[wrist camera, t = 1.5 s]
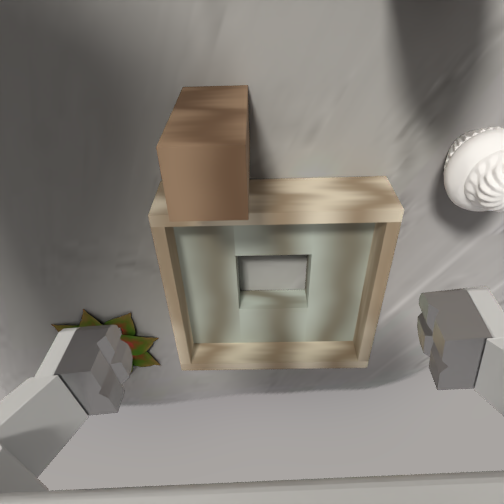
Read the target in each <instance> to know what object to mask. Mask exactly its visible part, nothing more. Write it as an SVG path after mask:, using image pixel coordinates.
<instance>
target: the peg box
mask: <svg viewBox="0 0 504 504" xmlns="http://www.w3.org/2000/svg"><path fill="white" fill-rule="evenodd" d="M403 213H404V209H403V207H402V205H401V203H400V201H399V199H398V198H397V196H396V194H395V192H394V190H393V188H392V186H391V185H390V183H389V181H388V179H387V177H386V176H375V177H332V178H289V179H249V220H227V221H181V222H170V221H169V215H168V210H167V204H166V199H165V193H164V188H163V182H162V181H161V182H160V184H159V187H158V190H157V193H156V195H155V198H154V201H153V203H152V206H151V209H150V212H149V214H148V218H149V222H150V227H151V231H152V236H153V241H154V245H155V250H156V254H157V259H158V264H159V268H160V273H161V277H162V282H163V286H164V291H165V296H166V300H167V305H168V309H169V314H170V318H171V323H172V328H173V332H174V337H175V341H176V346H177V351H178V355H179V360H180V364H181V369H182V370H246V369H316V368H367V365H368V361H369V357H370V353H371V348H372V344H373V340H374V336H375V331H376V327H377V323H378V319H379V314H380V310H381V306H382V302H383V298H384V293H385V289H386V285H387V281H388V276H389V272H390V268H391V264H392V259H393V255H394V251H395V247H396V243H397V238H398V234H399V230H400V226H401V221H402V217H403ZM306 254H307V268H306V282H305V290H255V291H240V287H239V271H238V256H254V255H306Z"/></svg>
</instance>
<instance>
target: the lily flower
mask: <svg viewBox="0 0 504 504" xmlns="http://www.w3.org/2000/svg"><path fill="white" fill-rule="evenodd" d="M130 317H131V313H129V314H127V315H124V316H121V317H117V318H115V319H112V320H109V321H107V322H105V323H104V324H103V325H117V326H118V328H120V327H121V331H122V335H121V337H120V340H122V341H124V342H125V343H127V344H128V346H129V348H130V349H131V353H132V370H133V365H134V366H139V367H146V366H152V365H160V364H159V363H158V362H157V361H156V360H154V358H153V357H152V356H151V355H150V354H149V353H148V352H147V350H148V349H149V348H150V347H151V346H152V344H153V342H154V341H156V340H157V339H158V338H149V337H148V338H145V337H136V336H135V327H134V324H133V321H132V319H131V318H130ZM51 325H52V326H54V327H55V328H56V330H57V331H58V332H60V331H61V330H62V329H65V328H78V327H87V326H100V325H102V324H101V323H99V322H98V321H97V320H96V319H95V318H93V317H92V316H90V315H89V314H88V313H87V312H86V311H85V310H84V309H83V315H82V321H80V325H79V326H71V325H59V326H58V325H53V324H51ZM132 370H131V372H132ZM130 374H131V373H130Z"/></svg>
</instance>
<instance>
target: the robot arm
mask: <svg viewBox="0 0 504 504" xmlns="http://www.w3.org/2000/svg"><path fill="white" fill-rule="evenodd" d="M419 306H420V308H421V311H422V313H421V314H420V315H419V316H418V323H417V327H418V336H419V340H420V344H421V347H422V350H423V353H425V354H426V355H427V356H429V357H430V361H429V369H430V371H431V374H432V377H433V380H434V382H435V385H436V387H437V390H448V389H470V388H475V389H474V390H475V391H476V392H477V393H478V394H479V395H480V396H481V397H483V398H484V399H485V400H486V401H487V402H488V403H489V404H490V405H492V406H493V407H494V408H495V409H496V410H497V411H498V412H499V413H501V414H502V415H503V416H504V311H503V310H502V308H501V307H500V305H499V303H498V302H497V300H496V299H495V297H494V296H493V294H492V292H491V291H490V289H489V288H488V287H486V286H479V287H470V288H463V289H453V290H444V291H435V292H426V293H421V295H420V299H419ZM121 334H122V333H121V331H120V329H119V328H118V326H117V325H100V326H87V327H78V328H65V329H62V330H61V331H60V332H59V333H58V334H57V336H56V338H55V340H54V342H53V344H52V345H51V347H50V349H49V351H48V353H47V355H46V357H45V358H44V360H43V362H42V364H41V366H40V368H39V369H38V371H37V373H36V375H35V377H31V378H28V379H27V380H26V381H24V382H23V383H22V384H21V385H20V386H18V387H17V388H16V389H15V390H13V391H12V392H11V393H10V394H8V395H7V396H6V397H5V398H4V399H2V400H1V401H0V504H504V471H482V472H460V473H440V474H418V475H417V474H415V475H392V476H370V477H347V478H324V479H301V480H280V481H279V480H278V481H257V482H234V483H212V484H190V485H167V486H145V487H124V488H101V489H78V490H55V491H49V490H48V488H47V487H46V486H45V485H44V484H43V483H42V482H41V481H40V480H39V479H37V478H38V476H39V475H40V474H41V473H42V472H43V470H44V469H45V468H46V467H47V466H48V465H49V463H50V462H51V461H52V460H53V459H54V457H55V456H56V455H57V454H58V453H59V452H60V450H61V449H62V448H63V447H64V446H65V445H66V443H67V442H68V441H69V440H70V439H71V438H72V436H73V435H74V434H75V433H76V432H77V431H78V429H79V428H80V427H81V426H82V425H83V423H84V422H85V421H86V420H87V419H88V417H89V416H88V415H98V414H108V413H117V412H118V410H119V407H120V404H121V401H122V398H123V395H124V392H125V390H124V388H123V386H122V384H123V383H124V382H125V381H126V380H127V379H128V378H129V376H130V373H131V370H132V353H131V349H130V348H129V346H128V344H127V343H125V342H124V341H122V340H120V337H121Z"/></svg>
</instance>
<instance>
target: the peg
mask: <svg viewBox="0 0 504 504" xmlns="http://www.w3.org/2000/svg"><path fill="white" fill-rule="evenodd" d="M156 149H157V155H158V160H159V166H160V171H161V177H162V182H163V188H164V193H165V199H166V204H167V210H168V215H169V221H170V222H181V221H227V220H249V164H250V138H249V108H248V85H240V86H204V87H183V88H182V90H181V93H180V95H179V97H178V99H177V102H176V104H175V106H174V108H173V111H172V113H171V115H170V117H169V120H168V122H167V124H166V126H165V129H164V131H163V133H162V135H161V138H160V140H159V142H158V144H157V147H156Z"/></svg>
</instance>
